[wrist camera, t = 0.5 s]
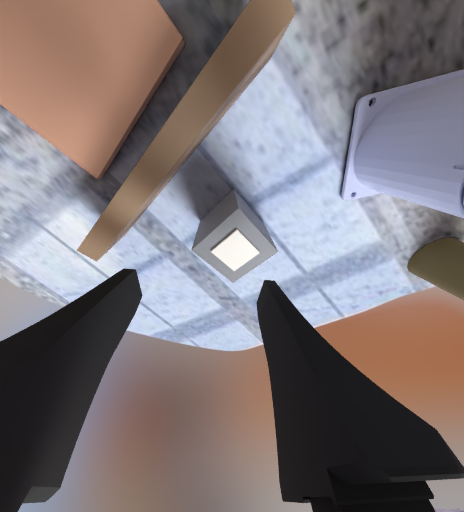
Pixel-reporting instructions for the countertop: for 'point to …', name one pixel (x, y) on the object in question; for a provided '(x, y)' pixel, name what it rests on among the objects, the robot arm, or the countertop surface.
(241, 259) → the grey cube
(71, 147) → the terracotta tile
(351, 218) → the countertop surface
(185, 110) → the walnut screen
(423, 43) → the countertop surface
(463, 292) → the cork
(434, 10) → the countertop surface
